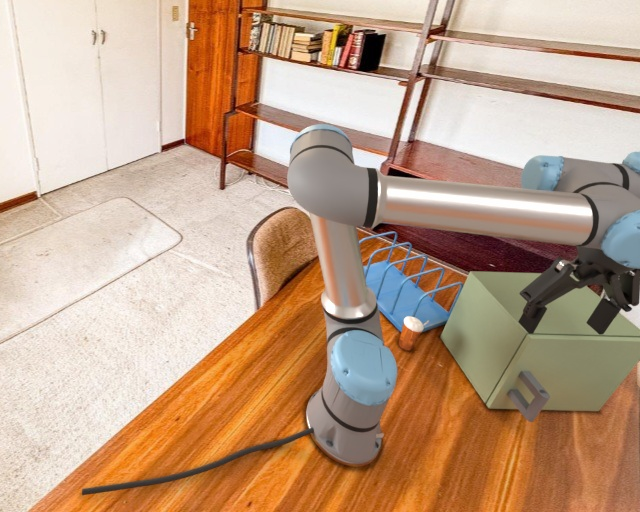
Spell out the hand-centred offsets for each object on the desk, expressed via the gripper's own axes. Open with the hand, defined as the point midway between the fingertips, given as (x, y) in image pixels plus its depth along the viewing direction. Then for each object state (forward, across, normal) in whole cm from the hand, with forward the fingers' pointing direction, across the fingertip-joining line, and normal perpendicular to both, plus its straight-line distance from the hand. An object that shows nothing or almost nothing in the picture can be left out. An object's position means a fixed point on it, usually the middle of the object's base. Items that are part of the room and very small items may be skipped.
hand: (559, 328), depth 76 cm
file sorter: (+29, -7, +35) cm, 46 cm away
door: (+29, +11, -1) cm, 31 cm away
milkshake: (+29, -13, +18) cm, 36 cm away
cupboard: (+29, +11, +12) cm, 33 cm away
